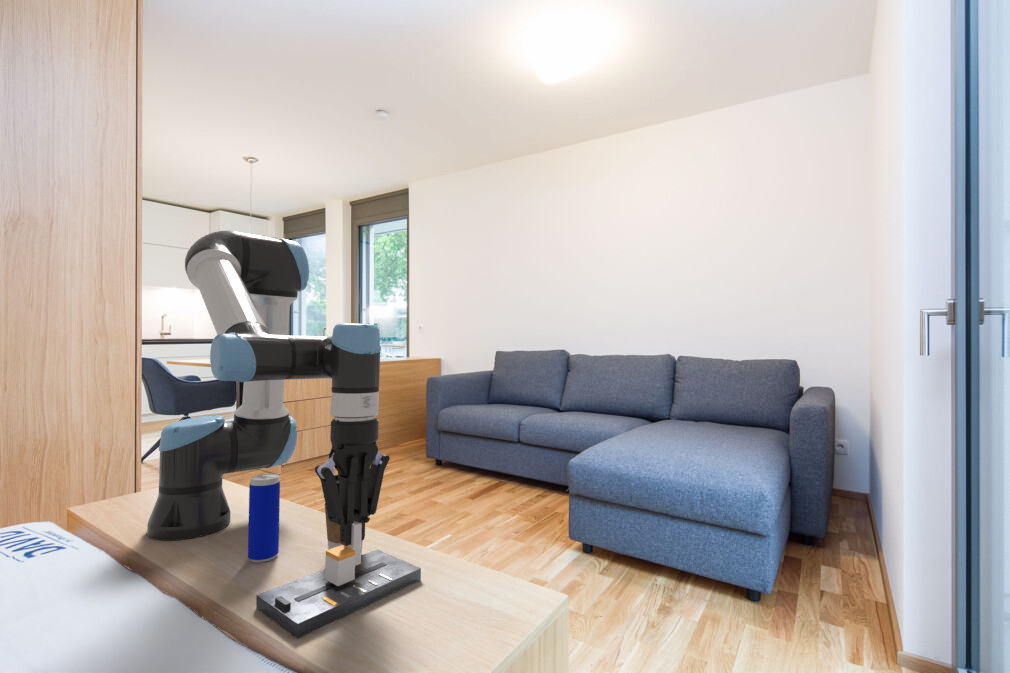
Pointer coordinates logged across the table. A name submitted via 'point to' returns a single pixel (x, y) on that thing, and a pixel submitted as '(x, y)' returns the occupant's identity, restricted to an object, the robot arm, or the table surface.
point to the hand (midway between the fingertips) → (352, 562)
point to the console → (335, 593)
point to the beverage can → (263, 517)
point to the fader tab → (340, 565)
